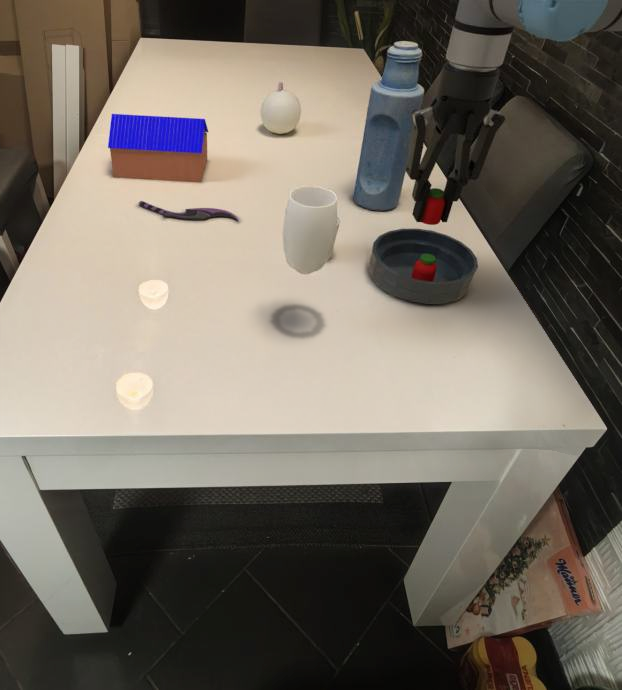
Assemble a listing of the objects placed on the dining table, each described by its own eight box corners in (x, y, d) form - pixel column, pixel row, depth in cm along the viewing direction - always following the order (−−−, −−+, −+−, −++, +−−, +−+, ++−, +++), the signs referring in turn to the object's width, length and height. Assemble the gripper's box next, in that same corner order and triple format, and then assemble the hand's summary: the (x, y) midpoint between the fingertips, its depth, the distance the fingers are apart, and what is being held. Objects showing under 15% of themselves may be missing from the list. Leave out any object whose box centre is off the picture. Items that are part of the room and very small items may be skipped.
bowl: (489, 281, 94) (498, 259, 91) (429, 320, 86) (436, 297, 83) (408, 240, 104) (414, 219, 101) (347, 271, 95) (351, 248, 92)
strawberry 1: (444, 220, 91) (452, 192, 87) (431, 227, 89) (439, 198, 85) (426, 212, 93) (434, 184, 89) (413, 218, 91) (420, 190, 87)
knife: (139, 203, 111) (133, 216, 108) (139, 199, 111) (133, 212, 107) (240, 212, 110) (237, 225, 107) (240, 208, 110) (237, 222, 106)
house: (202, 183, 120) (201, 129, 112) (112, 177, 120) (104, 123, 112) (209, 160, 128) (208, 109, 121) (124, 155, 129) (118, 104, 121)
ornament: (258, 124, 147) (260, 77, 139) (296, 125, 148) (300, 77, 140) (261, 139, 139) (263, 89, 131) (301, 139, 140) (306, 90, 132)
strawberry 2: (436, 283, 92) (444, 258, 89) (423, 291, 90) (431, 266, 87) (418, 274, 94) (425, 249, 91) (405, 281, 92) (412, 256, 89)
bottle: (405, 198, 117) (443, 42, 97) (387, 216, 111) (423, 53, 91) (364, 186, 121) (392, 33, 101) (344, 203, 114) (370, 43, 94)
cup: (293, 300, 88) (306, 178, 75) (330, 319, 85) (351, 195, 71) (265, 321, 84) (274, 196, 70) (304, 342, 81) (321, 215, 67)
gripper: (519, 57, 78) (470, 207, 94) (405, 55, 77) (374, 207, 93) (543, 73, 73) (486, 229, 88) (420, 70, 72) (385, 229, 87)
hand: (429, 217), depth 90 cm, fingers closed on strawberry 1, 4 cm apart
